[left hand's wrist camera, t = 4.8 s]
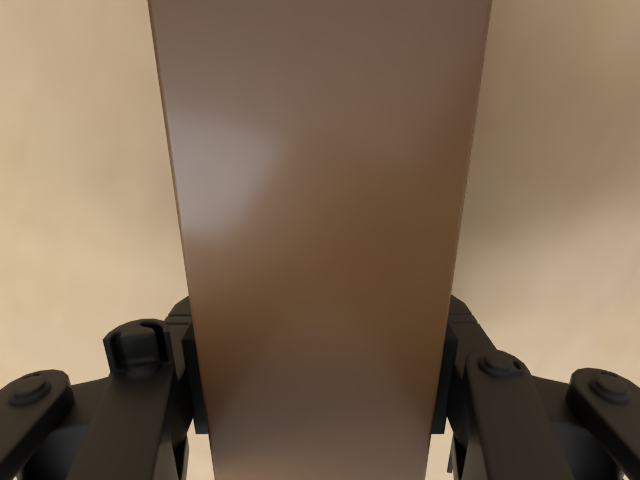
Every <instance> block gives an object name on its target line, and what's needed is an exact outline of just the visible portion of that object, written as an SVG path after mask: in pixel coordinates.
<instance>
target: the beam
mask: <svg viewBox="0 0 640 480" xmlns="http://www.w3.org/2000/svg"><path fill="white" fill-rule="evenodd" d="M491 4H492V0H148V8H149V15H150V22H151V29H152V36H153V43H154V50H155V57H156V64H157V72H158V79H159V86H160V93H161V100H162V107H163V114H164V121H165V128H166V136H167V143H168V150H169V157H170V164H171V171H172V178H173V185H174V193H175V200H176V207H177V214H178V221H179V228H180V235H181V242H182V249H183V257H184V264H185V271H186V278H187V285H188V292H189V299H190V306H191V313H192V321H193V328H194V335H195V342H196V349H197V356H198V363H199V370H200V378H201V385H202V392H203V399H204V406H205V413H206V420H207V427H208V434H209V442H210V449H211V456H212V463H213V470H214V477H215V480H425V475H426V468H427V461H428V454H429V447H430V439H431V432H432V425H433V418H434V411H435V404H436V397H437V389H438V382H439V375H440V368H441V361H442V354H443V347H444V339H445V332H446V325H447V318H448V311H449V304H450V297H451V290H452V282H453V275H454V268H455V261H456V254H457V247H458V240H459V232H460V225H461V218H462V211H463V204H464V197H465V190H466V182H467V175H468V168H469V161H470V154H471V147H472V140H473V133H474V125H475V118H476V111H477V104H478V97H479V90H480V83H481V75H482V68H483V61H484V54H485V47H486V40H487V33H488V26H489V18H490V11H491Z"/></svg>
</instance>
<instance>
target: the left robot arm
mask: <svg viewBox="0 0 640 480" xmlns="http://www.w3.org/2000/svg"><path fill="white" fill-rule="evenodd" d="M103 343H104V347H105V351H106V355H107V359H108V363H109V367H110V374H109V377H106V378H102V379H99V380H94V381H90V382H85V383H80V384H76V385H71V384H70V380H69V377H68V375H67V374H66V373H64V372H63V371H59V370H53V369H52V370H43V371H38V372H33V373H30V374H27V375H24V376H22V377H21V378H19V379H17V380H14V381H12V382H10V383H9V384H8V385H6V386H5V387H4V388H2V389H1V390H0V480H13V479H14V477H15V476H16V477H17V480H186V475H187V465H188V455H189V445H188V438H187V431H188V429H189V426H190V424H191V421H192V419H193V420H194V426H195V432H196V434H208V427H207V420H206V413H205V406H204V399H203V392H202V385H201V378H200V370H199V363H198V356H197V349H196V342H195V335H194V328H193V321H192V313H191V306H190V299H189V296H187V297H186V298H184V299H183V300H181V301H180V302H178V303H177V304H175V306H174V307H173V309H172V310H171V312H170V313H169V314H168V317H166V319H165V320H164V321H162V320H157V319H140V320H135V321H130V322H128V323H125V324H123V325H120V326H118V327H117V328H115V329H114V330H112V331H110V332H109V333H108V334H107V335H106V337H105V338H104V339H103ZM446 418H448V420H449V423H450V425H451V428H452V430H453V438H452V444H451V450H450V456H449V462H448V468H447V472H448V473H452V470H453V474H454V480H624V479H623V476H624V474H625V475H626V476H627V477H628V479H629V480H640V388H639V387H638V386H636V385H635V384H634V383H632V382H631V381H629V380H627V379H625V378H623V377H621V376H619V375H617V374H615V373H612V372H608V371H606V370H602V369H594V368H583V369H578V370H576V371H575V372H574V373H573V374H572V376H571V379H570V383H569V384H567V383H563V382H558V381H553V380H548V379H544V378H540V377H536V376H532V375H531V374H530V371H529V370H528V368H527V367H526V366H525V364H524V363H523V362H521V361H520V360H519V359H517V358H516V357H515V356H513V355H510V354H508V353H506V352H504V351H500V350H497V349H496V348H495V346H494V345H493V343H492V342H491V340H490V339H489V338H488V336H487V335H486V333H485V332H484V330H483V329H482V328H481V326H480V325H479V324H477V320H476V319H475V318H474V316H473V315H472V313H471V312H470V310H469V309H468V307H467V306H466V305H465V303H463V302H462V301H460V300H459V299H457V298H456V297H454V296H453V295H451V297H450V304H449V311H448V318H447V325H446V332H445V339H444V347H443V354H442V361H441V368H440V375H439V382H438V389H437V397H436V404H435V411H434V418H433V425H432V432H431V434H444V431H445V424H446Z"/></svg>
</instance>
